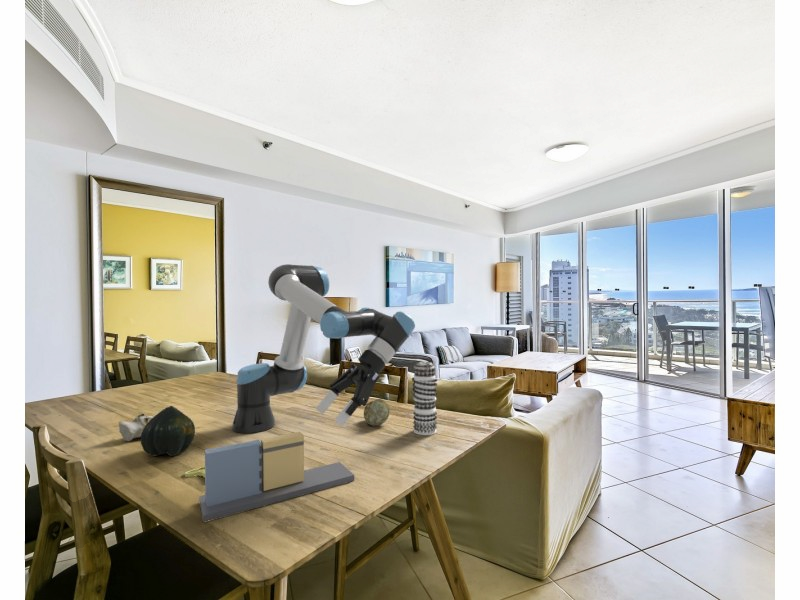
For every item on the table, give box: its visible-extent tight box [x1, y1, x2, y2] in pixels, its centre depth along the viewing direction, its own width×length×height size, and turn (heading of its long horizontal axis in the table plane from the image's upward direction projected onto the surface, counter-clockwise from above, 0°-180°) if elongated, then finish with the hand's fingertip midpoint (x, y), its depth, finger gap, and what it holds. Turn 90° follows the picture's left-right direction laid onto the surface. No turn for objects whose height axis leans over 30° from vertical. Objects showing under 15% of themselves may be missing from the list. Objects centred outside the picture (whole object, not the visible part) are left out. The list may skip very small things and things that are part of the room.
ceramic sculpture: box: [118, 413, 154, 442], centre depth 138 cm, size 11×9×15 cm
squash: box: [140, 405, 196, 457], centre depth 124 cm, size 14×15×15 cm
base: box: [198, 461, 355, 523], centre depth 98 cm, size 36×10×2 cm, turn 122°
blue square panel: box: [204, 439, 262, 507], centre depth 92 cm, size 12×3×12 cm, turn 122°
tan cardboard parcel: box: [260, 431, 305, 491], centre depth 98 cm, size 10×3×12 cm, turn 122°
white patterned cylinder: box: [411, 361, 438, 436], centre depth 141 cm, size 9×9×25 cm
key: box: [183, 465, 205, 479], centre depth 108 cm, size 7×12×2 cm, turn 64°
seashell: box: [363, 398, 391, 427], centre depth 151 cm, size 11×11×10 cm
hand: (327, 417), depth 105 cm, fingers open, 13 cm apart
